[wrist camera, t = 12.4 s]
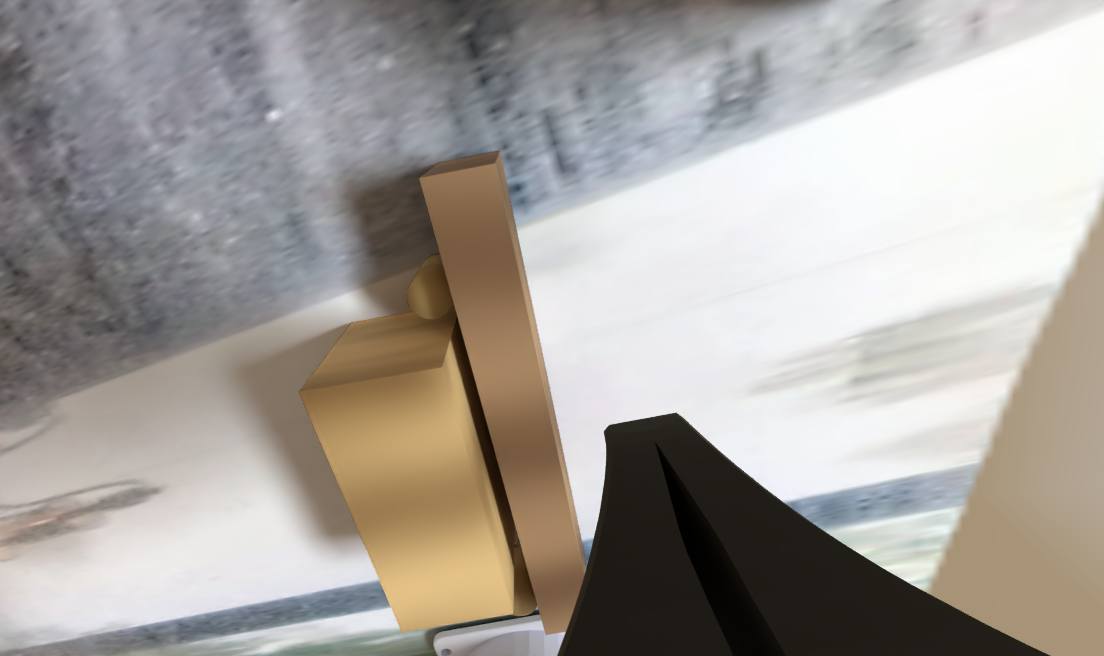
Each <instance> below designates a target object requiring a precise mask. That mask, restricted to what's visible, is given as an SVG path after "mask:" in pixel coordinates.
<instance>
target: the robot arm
mask: <svg viewBox="0 0 1104 656" xmlns="http://www.w3.org/2000/svg"><path fill="white" fill-rule="evenodd" d="M604 435H605V441H606V470H605V480H604V487H603V494H602V501H601V508H600V513H599V518H598V523H597V527H596V531H595V536H594V540H593V544H592V549H591V553H590V557H589V561H588V565H587V568H586V572H585V575H584V579H583V582H582V585H581V589H580V592H579V595H578V598H577V601H576V604H575V607H574V610H573V613H572V616H571V619H570V622H569V625H568V627H567V630H566V632H562V633H556V634H550V635H545V631H544V627H543V624H542V620H541V617H540V614H539V615H533V616H528V617H522V618H516V619H511V620H505V621H499V622H494V623H488V624H482V625H477V626H471V627H465V628H460V629H454V630H448V631H443V632H439V633H438V634H436V635H435V637H434V642H433V646H434V649H435V651H436V654H437V656H1050V655H1048V654H1046V653H1043V652H1041V651H1039V650H1037V649H1035V648H1033V647H1031V646H1028V645H1026V644H1024V643H1022V642H1020V641H1018V640H1016V639H1014V638H1012V637H1010V636H1008V635H1006V634H1004V633H1002V632H1000V631H998V630H996V629H994V628H992V627H990V626H988V625H986V624H984V623H982V622H981V621H979V620H977V619H975V618H973V617H971V616H969V615H967V614H965V613H964V612H962V611H960V610H958V609H956V608H954V607H952V606H950V605H949V604H947V603H945V602H943V601H941V600H939V599H937V598H935V597H934V596H932V595H930V594H928V593H926V592H924V591H922V590H920V589H918V588H917V587H915V586H913V585H911V584H909V583H908V582H906V581H904V580H902V579H901V578H899V577H897V576H895V575H894V574H892V573H890V572H888V571H887V570H885V569H883V568H881V567H880V566H878V565H877V564H875V563H873V562H872V561H870V560H868V559H867V558H865V557H864V556H862V555H860V554H859V553H857V552H855V551H854V550H852V549H851V548H849V547H847V546H846V545H844V544H843V543H841V542H840V541H838V540H837V539H835V538H834V537H832V536H831V535H829V534H828V533H826V532H825V531H823V530H822V529H820V528H819V527H817V526H816V525H814V524H813V523H811V522H810V521H809V520H807V519H806V518H804V517H803V516H802V515H800V514H799V513H797V512H796V511H795V510H793V509H792V508H790V507H789V506H788V505H786V504H785V503H784V502H782V501H781V500H780V499H778V498H777V497H776V496H774V495H773V494H772V493H770V492H769V491H768V490H766V489H765V488H764V487H763V486H761V485H760V484H759V483H758V482H756V481H755V480H754V479H753V478H751V477H750V476H749V475H748V474H746V473H745V472H744V471H743V470H741V469H740V468H739V467H738V466H736V465H735V464H734V463H733V462H732V461H731V460H729V459H728V458H727V457H726V456H725V455H723V454H722V453H721V452H720V451H719V450H718V449H717V448H715V447H714V446H713V445H712V444H711V443H710V442H709V441H708V440H706V439H705V438H704V437H703V436H702V435H701V434H700V433H699V432H698V431H697V430H696V429H695V428H693V427H692V426H691V425H690V424H689V423H688V422H687V421H686V420H685V419H684V418H683V417H682V416H680V415H679V414H677V413H672V414H667V415H661V416H656V417H650V418H645V419H639V420H634V421H628V422H623V423H618V424H612V425H609V426H608V427H607V428H606V429H605V431H604Z"/></svg>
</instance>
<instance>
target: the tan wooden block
mask: <svg viewBox="0 0 1104 656" xmlns="http://www.w3.org/2000/svg"><path fill="white" fill-rule="evenodd" d="M299 394H300V396H301V398H302V401H303V403H304V405H305V408H306V410H307V412H308V415H309V417H310V419H311V422H312V424H313V426H314V429H315V431H316V433H317V436H318V438H319V440H320V443H321V445H322V447H323V450H324V452H325V454H326V457H327V459H328V461H329V464H330V466H331V468H332V471H333V473H334V475H335V478H336V480H337V482H338V485H339V487H340V489H341V492H342V494H343V496H344V499H345V501H346V503H347V506H348V508H349V510H350V513H351V515H352V517H353V520H354V522H355V524H356V526H357V529H358V531H359V533H360V536H361V538H362V540H363V543H364V545H365V547H366V550H367V552H368V554H369V557H370V559H371V561H372V564H373V566H374V568H375V571H376V573H377V575H378V578H379V580H380V582H381V585H382V587H383V589H384V592H385V594H386V596H387V599H388V601H389V603H390V606H391V608H392V610H393V613H394V615H395V617H396V620H397V622H398V624H399V627H400V629H401V631H402V632H407V631H413V630H419V629H425V628H431V627H437V626H443V625H449V624H455V623H461V622H467V621H473V620H479V619H485V618H491V617H497V616H503V615H509V614H513V607H514V531H515V523H514V519H513V515H512V512H511V508H510V505H509V501H508V497H507V494H506V490H505V487H504V483H503V479H502V476H501V472H500V468H499V465H498V461H497V458H496V454H495V450H494V447H493V443H492V440H491V436H490V432H489V429H488V425H487V422H486V418H485V414H484V411H483V407H482V403H481V400H480V396H479V393H478V389H477V385H476V382H475V378H474V375H473V371H472V367H471V364H470V360H469V356H468V353H467V349H466V346H465V342H464V338H463V335H462V331H461V328H460V324H459V320H458V317H457V313H456V310H455V306H454V304H453V305H452V307H451V309H450V310H449V312H448V313H447V314H445V315H444V316H442V317H440V318H437V319H425V318H422V317H420V316H418V315H416V314H415V313H414V312H408V313H402V314H397V315H391V316H385V317H380V318H374V319H368V320H363V321H357V322H351V324H350V325H349V326H348V328H347V329H346V330H345V332H344V333H343V334H342V336H341V337H340V338H339V340H338V341H337V342H336V344H335V345H334V346H333V348H332V349H331V350H330V352H329V353H328V354H327V356H326V357H325V358H324V360H323V361H322V362H321V364H320V365H319V366H318V368H317V369H316V370H315V372H314V373H313V374H312V376H311V377H310V378H309V380H308V381H307V382H306V384H305V385H304V386H303V388H302V389H301V390H300V392H299Z"/></svg>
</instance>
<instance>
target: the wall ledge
mask: <svg viewBox="0 0 1104 656" xmlns="http://www.w3.org/2000/svg"><path fill="white" fill-rule="evenodd" d="M419 180H420V183H421V187H422V190H423V194H424V198H425V201H426V205H427V208H428V212H429V216H430V219H431V223H432V226H433V230H434V234H435V237H436V241H437V245H438V248H439V252H440V254H437V255H432V256H430V257H428V258H427V259H426V260H425V261H424V262H423V264H422V265H421V267H420V269H419V270H418V272H417V274H416V276H415V277H414V279H413V281H412V282H411V284H410V286H409V288H408V290H407V295H406V298H407V303H408V305H409V307H410V309H411V310H412V311H413V312H414V313H415V314H416V315H418V316H420V317H422V318H425V319H437V318H440V317H442V316H444V315H445V314H447V313H448V312H449V310H450V309H451V307H452V304H453V302H454V306H455V310H456V313H457V317H458V320H459V324H460V328H461V331H462V335H463V338H464V342H465V346H466V349H467V353H468V356H469V360H470V364H471V367H472V371H473V375H474V378H475V382H476V385H477V389H478V393H479V396H480V400H481V403H482V407H483V411H484V414H485V418H486V422H487V425H488V429H489V432H490V436H491V440H492V443H493V447H494V450H495V454H496V458H497V461H498V465H499V468H500V472H501V476H502V479H503V483H504V487H505V490H506V494H507V497H508V501H509V505H510V508H511V512H512V515H513V519H514V523H515V526H516V530H517V533H518V537H519V541H520V544H521V546H517V547H514V607H513V614H511V615H514V616H525V615H528V614H530V613H532V612H533V611H534V610H535V609H536V608H537V606H538V609H539V613H540V617H541V620H542V624H543V627H544V631H545V635H550V634H556V633H562V632H566V630H567V627H568V625H569V622H570V619H571V616H572V613H573V610H574V607H575V604H576V601H577V598H578V595H579V592H580V589H581V585H582V582H583V579H584V575H585V572H586V568H587V567H586V560H585V554H584V549H583V545H582V540H581V535H580V530H579V525H578V521H577V516H576V511H575V506H574V502H573V497H572V492H571V487H570V483H569V478H568V473H567V468H566V463H565V459H564V454H563V449H562V444H561V440H560V435H559V430H558V425H557V421H556V416H555V411H554V406H553V401H552V397H551V392H550V387H549V382H548V378H547V373H546V368H545V363H544V359H543V354H542V349H541V344H540V339H539V335H538V330H537V325H536V320H535V316H534V311H533V306H532V301H531V296H530V292H529V287H528V282H527V277H526V273H525V268H524V263H523V258H522V254H521V249H520V244H519V239H518V234H517V230H516V225H515V220H514V215H513V211H512V206H511V201H510V196H509V192H508V187H507V182H506V177H505V172H504V168H503V163H502V158H501V153H500V151H497V152H491V153H486V154H481V155H476V156H471V157H466V158H461V159H455V160H450V161H445V162H440V163H438V164H436V165H435V166H434V167H433V168H431V169H430V170H429V171H428V172H426V173H425V174H424V175H422V176H421V177H420V178H419Z"/></svg>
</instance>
